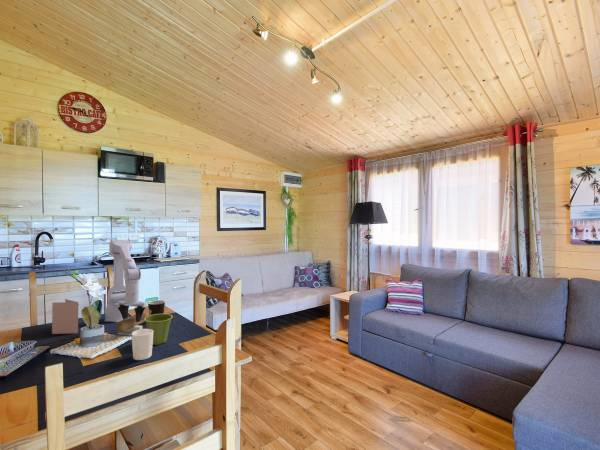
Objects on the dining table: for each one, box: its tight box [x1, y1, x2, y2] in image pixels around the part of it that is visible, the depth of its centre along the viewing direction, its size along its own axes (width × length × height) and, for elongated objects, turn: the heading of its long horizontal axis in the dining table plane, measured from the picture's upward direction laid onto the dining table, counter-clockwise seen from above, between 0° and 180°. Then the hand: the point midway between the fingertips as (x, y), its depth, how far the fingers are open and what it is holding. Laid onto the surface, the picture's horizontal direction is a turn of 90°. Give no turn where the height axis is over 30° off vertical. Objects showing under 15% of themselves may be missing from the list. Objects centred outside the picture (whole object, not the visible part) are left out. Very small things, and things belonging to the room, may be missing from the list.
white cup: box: [131, 328, 153, 361], centre depth 129 cm, size 8×8×10 cm
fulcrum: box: [115, 324, 144, 337], centre depth 157 cm, size 10×9×3 cm
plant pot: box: [144, 313, 173, 346], centre depth 145 cm, size 12×12×11 cm
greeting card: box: [51, 299, 80, 335], centre depth 154 cm, size 11×7×15 cm, turn 63°
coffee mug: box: [147, 299, 166, 316], centre depth 174 cm, size 12×9×10 cm
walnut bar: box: [116, 312, 147, 332], centre depth 157 cm, size 4×16×4 cm, turn 169°
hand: (131, 320), depth 157 cm, fingers open, 7 cm apart
